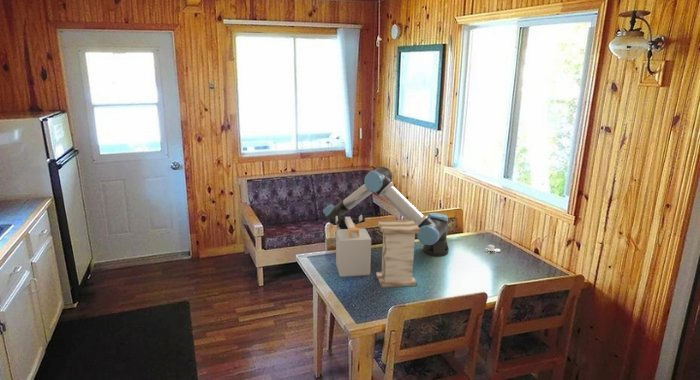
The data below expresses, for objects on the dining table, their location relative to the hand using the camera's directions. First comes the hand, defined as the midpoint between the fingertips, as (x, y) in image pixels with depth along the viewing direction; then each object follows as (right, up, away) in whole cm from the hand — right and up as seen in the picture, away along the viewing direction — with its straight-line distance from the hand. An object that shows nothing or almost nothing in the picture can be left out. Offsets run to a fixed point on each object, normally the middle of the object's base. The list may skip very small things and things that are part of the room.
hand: (349, 217), depth 248 cm
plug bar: (+1, -6, -4) cm, 7 cm away
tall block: (+2, -27, -6) cm, 28 cm away
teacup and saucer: (+86, -23, +18) cm, 91 cm away
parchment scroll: (+24, -31, -17) cm, 43 cm away
